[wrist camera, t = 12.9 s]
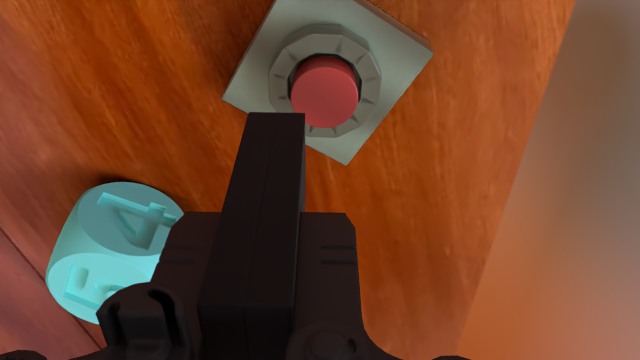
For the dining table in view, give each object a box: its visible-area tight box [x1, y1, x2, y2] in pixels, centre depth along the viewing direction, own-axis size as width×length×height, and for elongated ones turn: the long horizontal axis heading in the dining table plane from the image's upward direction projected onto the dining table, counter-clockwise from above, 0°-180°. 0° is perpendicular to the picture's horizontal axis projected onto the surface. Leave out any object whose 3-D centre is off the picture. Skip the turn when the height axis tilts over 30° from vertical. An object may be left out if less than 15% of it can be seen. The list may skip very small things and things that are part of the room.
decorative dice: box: [45, 182, 184, 324], centre depth 38 cm, size 8×8×8 cm
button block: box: [221, 0, 434, 166], centre depth 32 cm, size 10×10×4 cm
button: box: [291, 56, 358, 128], centre depth 30 cm, size 4×4×2 cm
